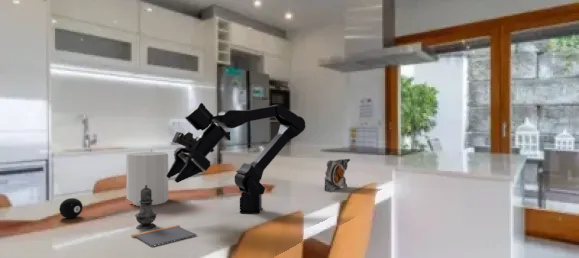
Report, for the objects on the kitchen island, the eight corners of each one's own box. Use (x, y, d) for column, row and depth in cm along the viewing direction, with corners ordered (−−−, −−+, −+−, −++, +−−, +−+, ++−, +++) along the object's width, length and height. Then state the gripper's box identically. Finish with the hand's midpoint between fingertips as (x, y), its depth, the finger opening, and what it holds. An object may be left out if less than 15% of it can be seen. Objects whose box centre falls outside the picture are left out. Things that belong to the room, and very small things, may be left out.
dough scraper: (131, 236, 94) (131, 234, 93) (177, 226, 103) (177, 224, 103) (149, 247, 86) (149, 245, 86) (198, 235, 95) (198, 233, 95)
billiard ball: (74, 214, 115) (74, 195, 115) (86, 216, 113) (86, 197, 113) (55, 218, 110) (55, 199, 110) (67, 221, 107) (67, 201, 107)
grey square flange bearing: (332, 192, 152) (333, 161, 152) (324, 191, 155) (324, 161, 155) (350, 187, 164) (350, 158, 164) (341, 186, 167) (342, 158, 166)
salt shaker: (149, 230, 99) (149, 187, 99) (130, 229, 100) (130, 186, 100) (161, 224, 105) (161, 183, 104) (143, 223, 106) (142, 182, 105)
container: (143, 208, 125) (142, 156, 124) (118, 202, 132) (118, 154, 132) (176, 200, 137) (176, 153, 136) (151, 196, 144) (151, 151, 144)
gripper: (180, 122, 116) (144, 158, 110) (199, 122, 100) (158, 164, 95) (204, 146, 121) (170, 181, 115) (225, 149, 105) (188, 191, 99)
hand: (171, 179), depth 106 cm, fingers open, 9 cm apart
